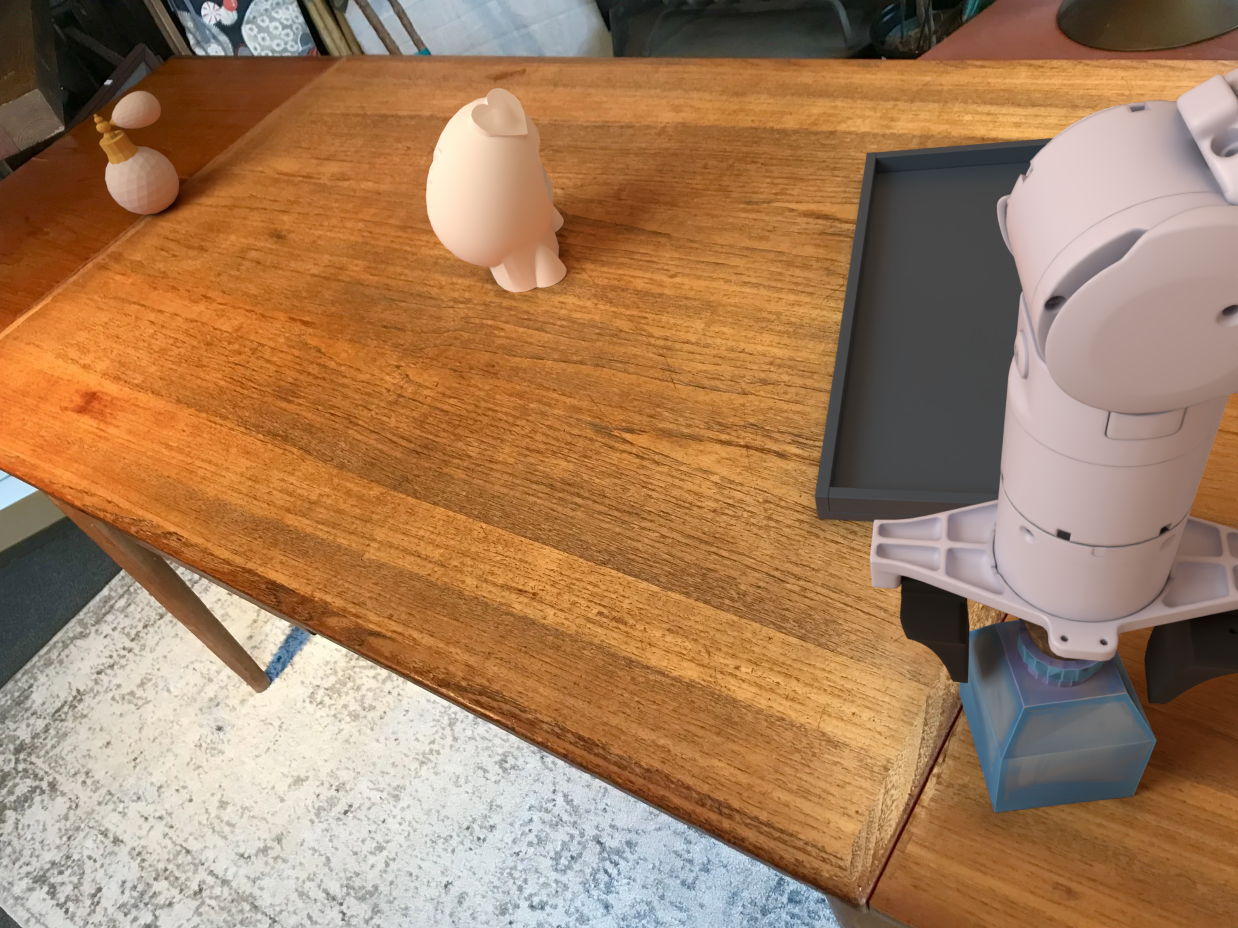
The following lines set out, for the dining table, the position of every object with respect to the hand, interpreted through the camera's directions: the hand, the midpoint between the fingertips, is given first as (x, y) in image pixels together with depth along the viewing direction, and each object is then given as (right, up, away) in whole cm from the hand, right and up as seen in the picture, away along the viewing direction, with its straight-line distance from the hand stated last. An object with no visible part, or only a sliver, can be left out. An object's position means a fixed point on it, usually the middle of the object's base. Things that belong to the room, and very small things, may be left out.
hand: (1054, 671), depth 40 cm
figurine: (-28, +27, +43) cm, 58 cm away
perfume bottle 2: (+2, -5, +6) cm, 8 cm away
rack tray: (+5, +19, +25) cm, 32 cm away
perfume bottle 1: (-71, +40, +69) cm, 107 cm away
